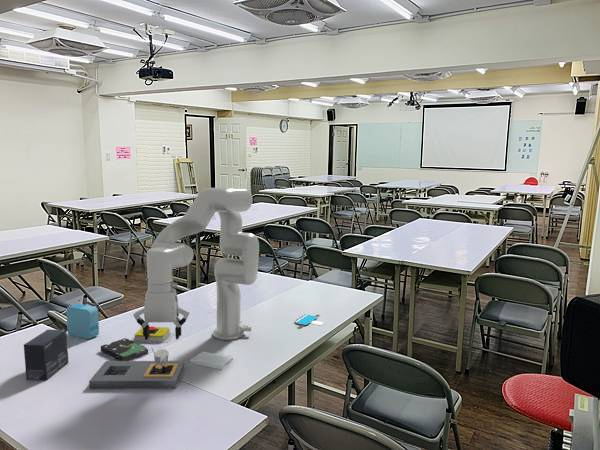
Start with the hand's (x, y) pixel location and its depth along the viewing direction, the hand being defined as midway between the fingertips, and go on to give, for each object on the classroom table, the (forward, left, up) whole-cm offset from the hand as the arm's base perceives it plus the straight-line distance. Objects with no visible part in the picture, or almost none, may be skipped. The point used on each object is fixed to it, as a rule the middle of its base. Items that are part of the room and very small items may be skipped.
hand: (162, 337), depth 144 cm
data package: (+39, -35, -14) cm, 54 cm away
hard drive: (-14, -11, -14) cm, 23 cm away
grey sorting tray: (+7, +1, -13) cm, 15 cm away
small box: (+38, -4, -14) cm, 41 cm away
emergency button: (+12, -33, -14) cm, 38 cm away
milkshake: (+1, 0, -13) cm, 13 cm away
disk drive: (+18, -19, -14) cm, 30 cm away
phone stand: (-53, -51, -14) cm, 75 cm away
